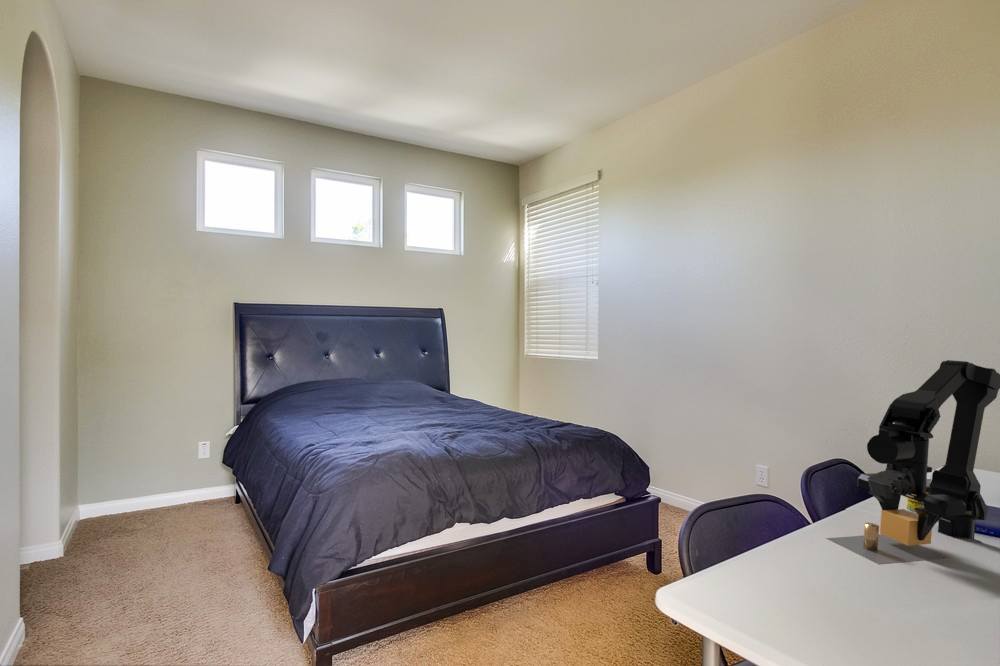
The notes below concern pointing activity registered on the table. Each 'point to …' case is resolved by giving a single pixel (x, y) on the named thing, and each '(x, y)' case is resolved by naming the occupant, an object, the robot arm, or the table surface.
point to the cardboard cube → (902, 527)
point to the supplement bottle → (913, 503)
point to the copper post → (871, 537)
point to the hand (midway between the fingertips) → (905, 533)
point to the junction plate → (887, 550)
